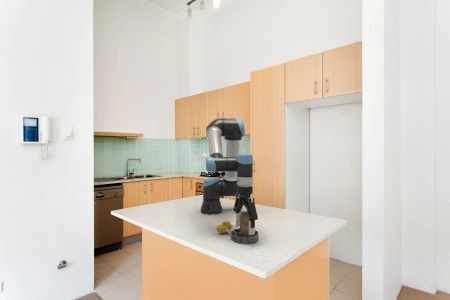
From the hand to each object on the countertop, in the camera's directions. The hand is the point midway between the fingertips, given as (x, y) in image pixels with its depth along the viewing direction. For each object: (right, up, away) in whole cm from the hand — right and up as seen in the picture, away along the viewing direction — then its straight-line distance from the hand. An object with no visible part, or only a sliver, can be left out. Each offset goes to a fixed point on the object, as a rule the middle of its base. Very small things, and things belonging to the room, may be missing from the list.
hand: (244, 230), depth 117 cm
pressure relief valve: (-7, -4, +6) cm, 11 cm away
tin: (0, -4, 0) cm, 4 cm away
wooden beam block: (0, -3, 0) cm, 3 cm away
